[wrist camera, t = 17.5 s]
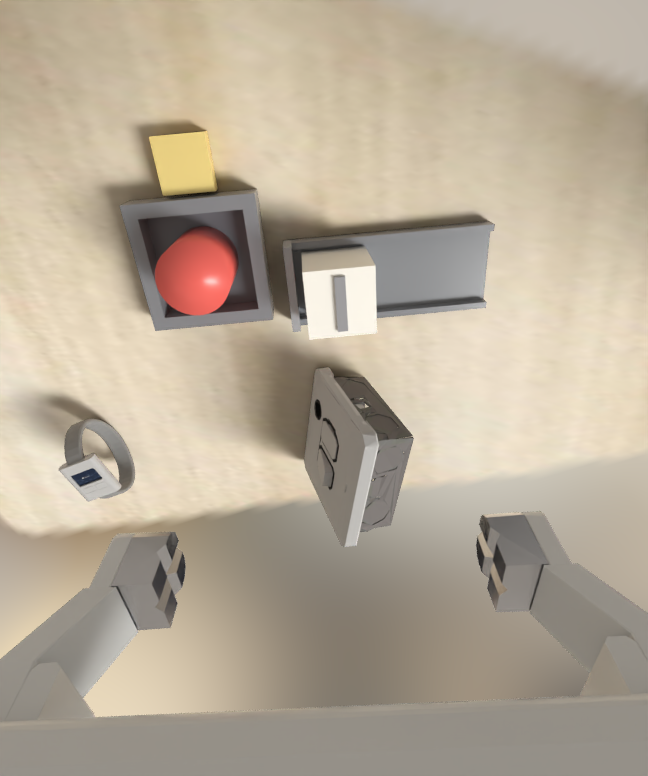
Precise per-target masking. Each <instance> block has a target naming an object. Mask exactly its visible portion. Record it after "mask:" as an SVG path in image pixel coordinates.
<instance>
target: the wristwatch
mask: <svg viewBox="0 0 648 776" xmlns="http://www.w3.org/2000/svg"><path fill="white" fill-rule="evenodd" d="M84 428H87V429H90V430H92V431H94V432H95V433H97V434H98V435H99V436H100V437H102V439H103V440H104V441H105V442H106V443H107V445H108V446H109V448H110V449H111V451H112V453H113V455H114V457H115V460H116V462H117V465H118V469H119V482H118V480H117V479H116V478H115V477H114V476H113V474H112V473H111V472H110V471H109V470H108V469H107V467H106V466H105V465H104V464H103V463H102V462H101V460H100V459H99V458H98V457H97V456H96V455H95V453H92V454H89V455H85V456H84V453H83V449H82V434H83V431H84ZM64 449H65V458H66V462H67V463H65V464H63V465H62V466H61V467H60V468H59V471H60V472H61V473H62V474H63V475H64V476H65V477H66V478H67V479H68V481H69V482H70V483H71V484H72V485H73V486H74V487H75V488H76V489H77V490H78V491H79V492H80V494H81V495H82V496H83V497H84V498H85V499H86V500H87V501H92V500H94V499H97V498H110V497H113V496H116V495H118V494H121V493H124V492H125V491H127V490H128V489H129V488H131V486H132V485H133V483H134V479H135V467H134V463H133V460H132V457H131V454H130V452H129V450H128V448H127V446H126V444H125V442H124V440H123V439H122V437H121V436H120V435H119V433H118V432H117V431H116V430H115V429H114V428H113V427H112V426H110V425H109V424H107V423H105V422H104V421H101V420H98V419H86V420H84V421H81V422H79V423H76V424H74V425H72V426H71V427H70V428H69V429H68V431H67V433H66V437H65V445H64Z"/></svg>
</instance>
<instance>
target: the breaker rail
mask: <svg viewBox="0 0 648 776" xmlns="http://www.w3.org/2000/svg"><path fill="white" fill-rule="evenodd" d="M494 225H495V224H493V223H491V222H490V221H484V222H473V223H463V224H452V225H441V226H431V227H420V228H409V229H399V230H388V231H378V232H367V233H356V234H346V235H335V236H324V237H314V238H303V239H293V240H283V255H284V263H285V271H286V279H287V287H288V295H289V303H290V311H291V319H292V327H293V332H298V331H301V325H308V322H307V313H306V303H305V294H304V284H303V275H302V254H301V252H306V251H317V250H328V249H338V248H349V247H359V246H365V247H366V249H367V251H368V253H369V255H370V256H371V258H372V260H373V262H374V264H375V266H376V309H377V318H383V317H394V316H404V315H415V314H425V313H436V312H446V311H457V310H467V309H478V308H486V301H485V300H484V299H483V297H484V287H485V277H486V267H487V257H488V247H489V237H490V231H494Z"/></svg>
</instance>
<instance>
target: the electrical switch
mask: <svg viewBox="0 0 648 776" xmlns="http://www.w3.org/2000/svg"><path fill="white" fill-rule="evenodd" d="M359 398H363V399H360V400H359ZM365 404H366V405H368V406H369V407H367V408H365ZM410 436H413V435H412V434H411V433H410V432H409V431H408V429H407V428H406V427H405V426H404V425H403V423H402V422H401V421H400V420H399V419H398V417H397V416H396V415H395V414H394V412H393V411H392V410H391V409H390V408H389V406H388V405H387V404H386V403H385V402H384V400H383V399H382V398H381V397H380V396H379V394H378V393H377V392H376V391H375V389H374V388H373V387H372V386H371V385H370V383H369V382H368V381H367V380H366V379H365V377H356V378H346V377H336V378H335V377H334V374H333V373H332V371H331V369H330V368H329V367H326V368H319V369H316V371H315V374H314V382H313V390H312V399H311V407H310V415H309V423H308V431H307V440H306V448H305V456H304V463H305V468H306V471H307V473H308V475H309V477H310V480H311V482H312V484H313V486H314V488H315V490H316V492H317V495H318V497H319V499H320V501H321V503H322V505H323V507H324V509H325V512H326V514H327V516H328V518H329V520H330V522H331V524H332V526H333V529H334V531H335V533H336V535H337V537H338V540H339V542H340V544H341V545H342V546H343V547H347V546H356V545H357V540H358V536H359V532H364V531H369V530H371V529H373V528H377V527H383V526H389V525H391V522H392V518H393V514H394V511H395V507H396V503H397V499H398V496H399V492H400V488H401V484H402V480H403V477H404V473H405V469H406V465H407V462H408V458H409V454H410V450H411V446H412V443H413V439H414V438H413V437H410ZM405 437H408V438H405ZM399 438H401V439H399ZM403 452H404V453H403ZM387 471H388V472H387ZM385 475H386V476H385ZM373 479H374V481H372V480H373ZM376 497H377V498H376ZM389 509H390V510H389Z"/></svg>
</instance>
